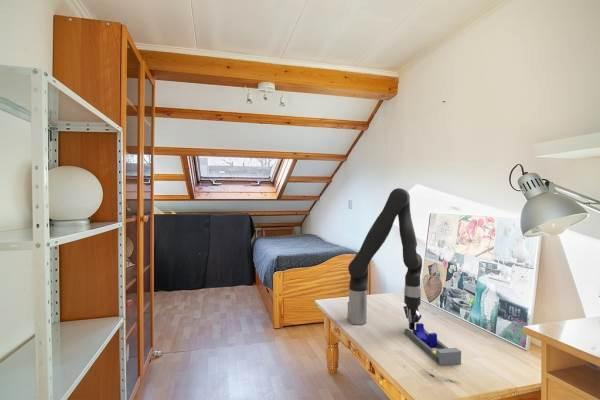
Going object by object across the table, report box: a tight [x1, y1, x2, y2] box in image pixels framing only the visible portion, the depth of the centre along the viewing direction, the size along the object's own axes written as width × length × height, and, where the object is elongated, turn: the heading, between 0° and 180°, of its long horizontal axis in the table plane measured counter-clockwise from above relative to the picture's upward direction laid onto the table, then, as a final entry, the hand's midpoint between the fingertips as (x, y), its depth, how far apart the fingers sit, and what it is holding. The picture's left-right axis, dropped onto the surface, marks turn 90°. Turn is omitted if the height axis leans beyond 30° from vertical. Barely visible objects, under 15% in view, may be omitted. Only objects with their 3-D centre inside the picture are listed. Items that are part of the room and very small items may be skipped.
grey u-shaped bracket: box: [404, 328, 462, 367], centre depth 136 cm, size 9×28×5 cm, turn 10°
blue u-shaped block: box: [412, 322, 438, 349], centre depth 142 cm, size 12×4×6 cm, turn 10°
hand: (411, 329), depth 152 cm, fingers closed
